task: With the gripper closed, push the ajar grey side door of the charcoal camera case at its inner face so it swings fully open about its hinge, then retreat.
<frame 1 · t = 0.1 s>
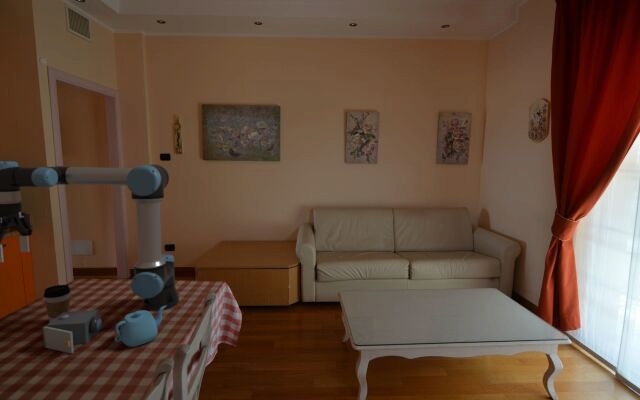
hand: (12, 256, 124), 28 cm above the table, fingers open, 13 cm apart
coffee cup: (59, 323, 130), on the table
teapot: (142, 338, 121), on the table
camera case: (75, 337, 120), on the table
side door: (57, 340, 111), point 4 cm above the table, hinge at 25.0°
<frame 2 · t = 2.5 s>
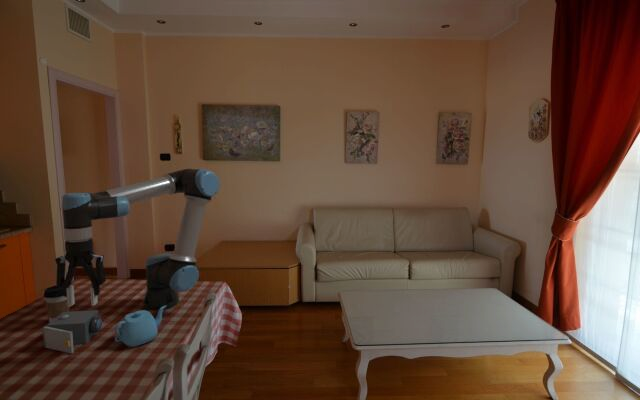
hand: (82, 304, 110), 17 cm above the table, fingers open, 6 cm apart
nothing on the table moved.
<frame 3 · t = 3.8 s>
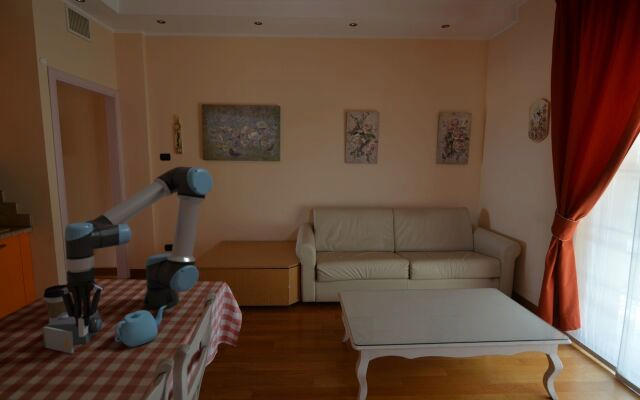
hand: (83, 334, 111), 6 cm above the table, fingers closed
nothing on the table moved.
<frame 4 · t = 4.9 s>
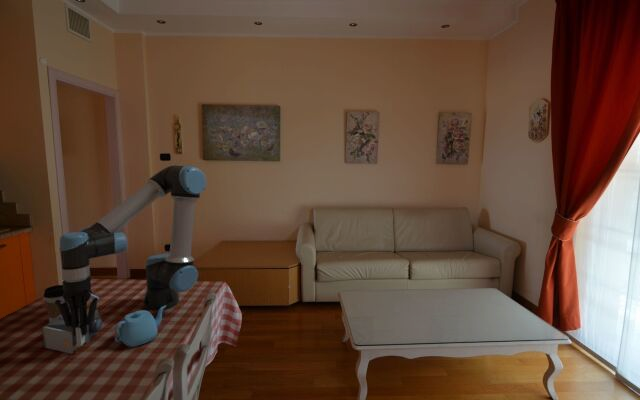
hand: (81, 343, 111), 3 cm above the table, fingers closed
side door: (56, 340, 111), point 4 cm above the table, hinge at 25.8°, touching gripper
everything else where it was.
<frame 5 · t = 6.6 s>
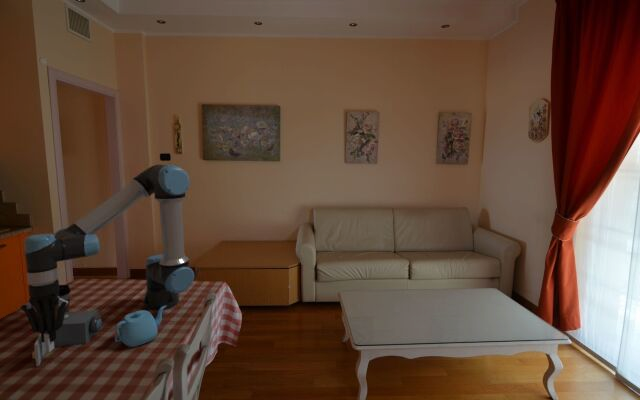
hand: (50, 350, 107), 3 cm above the table, fingers closed
side door: (40, 345, 107), point 4 cm above the table, hinge at 70.5°, touching gripper
everything else where it was.
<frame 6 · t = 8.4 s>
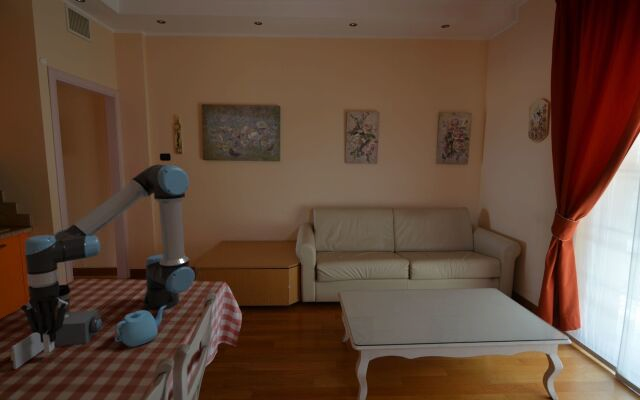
hand: (49, 350, 107), 3 cm above the table, fingers closed
side door: (30, 346, 107), point 4 cm above the table, hinge at 99.1°
everything else where it was.
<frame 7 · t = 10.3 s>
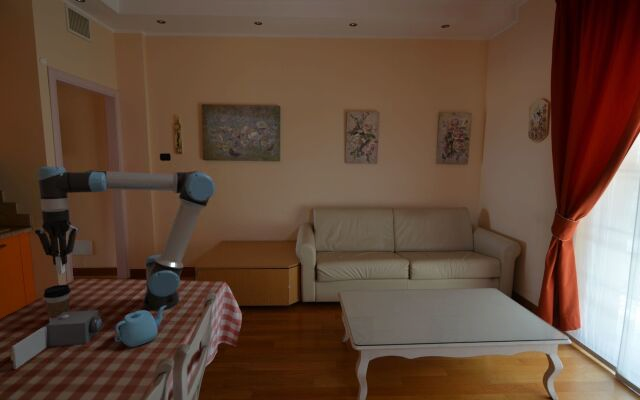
hand: (61, 272, 118), 25 cm above the table, fingers closed
nothing on the table moved.
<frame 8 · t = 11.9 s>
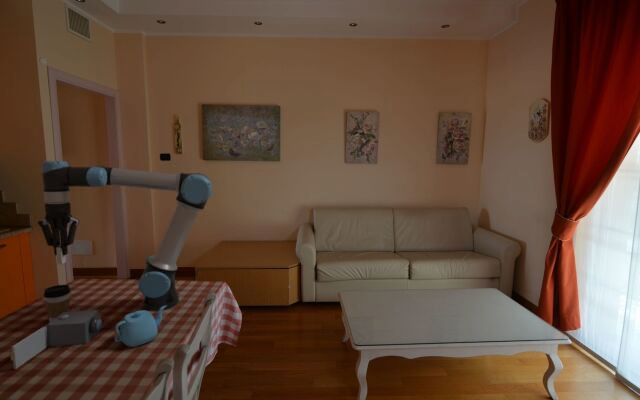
hand: (61, 263, 123), 26 cm above the table, fingers closed
nothing on the table moved.
at the end: side door at +99° (first picture: +25°); side door touching nothing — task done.
